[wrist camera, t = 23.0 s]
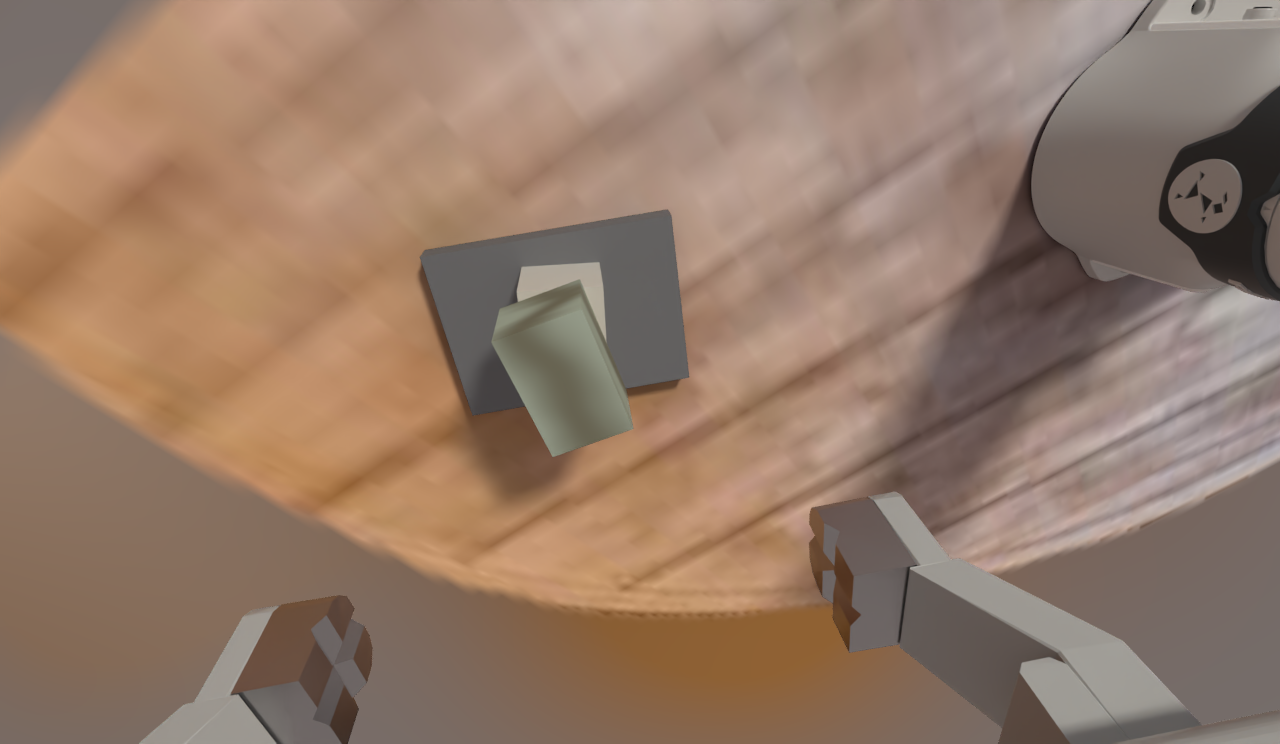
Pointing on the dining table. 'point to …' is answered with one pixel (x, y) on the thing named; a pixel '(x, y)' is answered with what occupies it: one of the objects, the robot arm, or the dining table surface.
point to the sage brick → (563, 368)
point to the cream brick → (557, 275)
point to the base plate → (624, 247)
